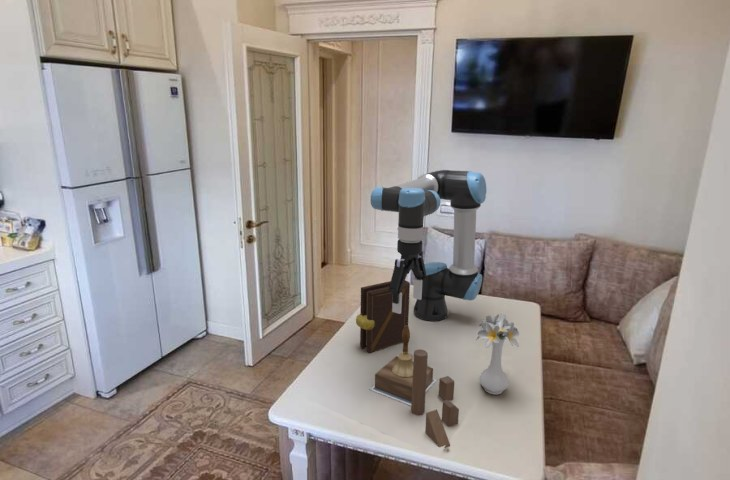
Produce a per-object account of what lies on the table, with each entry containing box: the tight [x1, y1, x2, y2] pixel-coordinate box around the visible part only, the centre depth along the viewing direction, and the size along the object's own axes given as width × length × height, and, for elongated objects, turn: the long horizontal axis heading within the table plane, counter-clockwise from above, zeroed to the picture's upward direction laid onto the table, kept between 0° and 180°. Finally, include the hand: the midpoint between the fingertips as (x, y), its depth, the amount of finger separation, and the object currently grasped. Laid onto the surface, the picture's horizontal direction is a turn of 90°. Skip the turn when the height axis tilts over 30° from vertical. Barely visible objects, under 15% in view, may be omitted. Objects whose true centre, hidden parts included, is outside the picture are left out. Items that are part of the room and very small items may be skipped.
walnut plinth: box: [374, 355, 434, 402], centre depth 146 cm, size 14×14×5 cm
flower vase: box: [475, 312, 520, 396], centre depth 144 cm, size 13×18×25 cm
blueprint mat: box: [368, 377, 438, 407], centre depth 147 cm, size 18×16×1 cm
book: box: [355, 279, 411, 355], centre depth 170 cm, size 22×8×25 cm, turn 123°
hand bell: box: [392, 324, 413, 377], centre depth 144 cm, size 8×8×16 cm
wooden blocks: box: [410, 349, 460, 449], centre depth 128 cm, size 17×20×20 cm
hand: (407, 305), depth 140 cm, fingers open, 13 cm apart
